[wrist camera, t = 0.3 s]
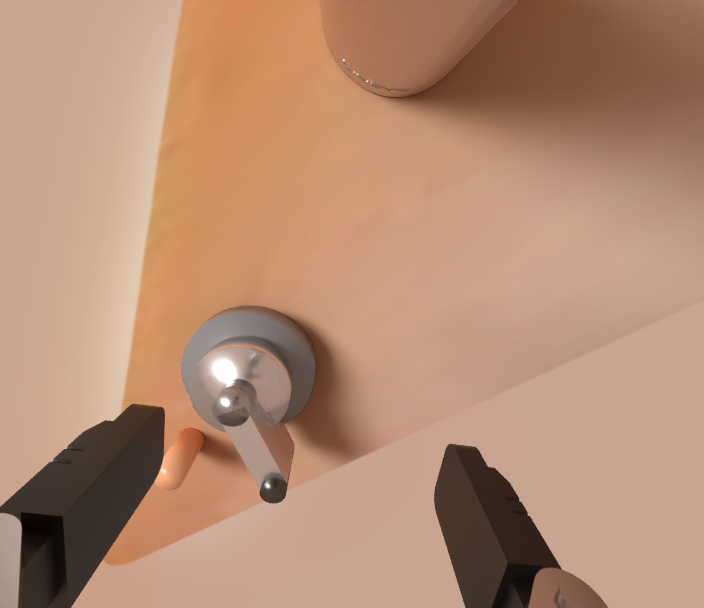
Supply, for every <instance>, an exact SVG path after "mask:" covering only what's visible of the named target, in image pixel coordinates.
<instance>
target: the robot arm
mask: <svg viewBox="0 0 704 608" xmlns="http://www.w3.org/2000/svg"><path fill="white" fill-rule="evenodd" d="M518 1H519V0H320V6H321V13H322V20H323V26H324V30H325V34H326V38H327V42H328V45H329V47H330V49H331V51H332V53H333V56H334V58H335V60H336V61H337V63H338V64H339V65H340V67H341V68H342V70H343V71H344V72H345V74H346V75H348V76H349V77H350V78H351V79H352V80H353V81H354V82H355V83H356V84H357V85H359V86H361V87H363V88H364V89H366V90H368V91H370V92H372V93H375V94H379V95H382V96H386V97H404V96H409V95H414V94H417V93H419V92H422V91H424V90H426V89H428V88H430V87H432V86H433V85H434V84H436V83H437V82H438V81H440V80H441V79H442V78H444V77H445V76H446V75H447V74H448V73H449V72H450V71H451V69H452V68H453V67H454V66H455V65H456V64H457V63H458V62H459V61H460V60H461V59H462V58H463V57H464V56H465V55H466V54H467V53H468V52H469V51H470V50H471V49H472V48H473V47H474V46H475V45H476V44H477V43H478V42H479V41H480V40H481V39H482V38H483V37H484V36H485V35H486V34H487V33H488V32H489V31H490V30H491V29H492V28H493V27H494V26H495V25H496V24H497V23H498V22H499V21H500V20H501V19H502V18H503V17H504V16H505V14H506V13H507V12H508V11H509V10H510V9H511V8H512V7H513V6H514V5H515V4H516V3H517V2H518ZM164 425H165V412H164V409H163V408H162V407H156V406H148V405H140V404H132V405H130V406H129V407H128V408H127V409H126V410H125V411H124V412H123V413H122V414H121V415H119V416H118V417H117V418H116V419H115V420H114V421H107V420H106V421H103V422H102V423H100V424H98V425H96V426H94V427H92V428H90V429H88V430H86V431H84V432H83V433H82V434H81V435H79V436H78V438H76V439H75V440H74V441H73V442H72V443H71V444H69V445H68V447H67V449H64V450H63V451H62V452H61V453H59V455H57V456H56V457H55V458H54V460H53V462H49V464H47V465H46V466H45V467H44V468H43V469H42V470H41V471H40V472H38V473H37V474H36V475H35V476H34V477H33V478H32V479H31V480H30V481H28V482H27V483H26V484H25V485H24V486H23V487H22V488H21V489H20V490H18V491H17V492H16V493H15V494H14V495H13V496H12V497H11V498H10V499H8V500H7V501H6V502H5V503H4V504H3V505H2V506H1V507H0V608H71V607H72V605H73V604H74V602H75V601H76V599H77V598H78V596H79V595H80V593H81V592H82V590H83V589H84V587H85V585H86V584H87V582H88V581H89V579H90V578H91V576H92V575H93V573H94V572H95V570H96V569H97V567H98V566H99V564H100V563H101V561H102V560H103V558H104V557H105V555H106V554H107V552H108V551H109V549H110V548H111V546H112V545H113V543H114V542H115V540H116V539H117V537H118V536H119V534H120V533H121V531H122V530H123V528H124V527H125V525H126V524H127V522H128V521H129V519H130V518H131V516H132V514H133V513H134V511H135V510H136V508H137V507H138V505H139V504H140V502H141V501H142V499H143V498H144V496H145V495H146V493H147V492H148V490H149V489H150V487H151V486H152V484H153V483H154V481H155V480H156V478H157V476H158V474H159V471H160V469H161V465H162V462H163V456H164ZM434 502H435V510H436V514H437V517H438V520H439V523H440V527H441V530H442V533H443V536H444V539H445V543H446V546H447V549H448V552H449V556H450V559H451V562H452V565H453V569H454V572H455V575H456V578H457V582H458V585H459V588H460V591H461V595H462V598H463V601H464V604H465V607H466V608H608V607H607V605H606V604H605V603H604V601H603V600H602V599H601V597H600V596H598V594H597V593H596V592H595V591H594V590H593V589H592V588H591V587H590V586H589V585H587V584H586V583H585V582H583V581H582V580H581V579H579V578H578V577H576V576H574V575H573V574H571V573H569V572H566V571H564V570H562V569H561V567H560V566H559V564H558V562H557V561H556V559H555V557H554V556H553V554H552V552H551V551H550V549H549V547H548V546H547V544H546V542H545V541H544V539H543V538H542V536H541V534H540V532H539V531H538V529H537V527H536V526H535V524H534V523H533V521H532V519H531V517H530V516H528V515H527V511H526V509H525V507H524V506H523V504H522V502H519V498H518V496H517V494H516V492H515V491H514V489H513V487H512V486H511V484H510V483H509V482H508V481H507V480H506V479H505V478H504V477H503V476H502V475H501V474H500V473H499V472H498V471H497V470H496V469H495V468H490V467H488V466H487V465H486V463H485V461H484V459H483V457H482V455H481V454H480V452H479V450H478V449H477V448H476V447H472V446H463V445H455V444H449V445H448V446H447V448H446V450H445V454H444V458H443V461H442V465H441V468H440V472H439V476H438V479H437V483H436V487H435V494H434Z"/></svg>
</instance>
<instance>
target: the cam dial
mask: <svg viewBox="0 0 704 608" xmlns="http://www.w3.org/2000/svg"><path fill="white" fill-rule="evenodd" d="M293 382H294V379H293V372H292V369H291V366H290V364H289V362H288V360H287V359H286V357H285V356H284V355H283V354H282V353H281V352H280V351H279V350H278V349H277V348H276V347H274V346H273V345H271V344H270V343H268V342H266V341H263V340H261V339H258V338H253V337H245V336H241V337H232V338H228V339H225V340H223V341H220V342H219V343H217V344H215V345H214V346H213V347H212V348H211V349H210V350H209V351H208V352H207V353H206V354H205V356H204V357H203V358H202V359H201V361H200V362H199V363H198V364H197V366H196V367H195V369H194V370H193V372H192V374H191V377H190V380H189V396H190V400H191V403H192V405H193V407H194V409H195V410H196V412H197V413H198V414H199V416H200V417H201V418H202V419H203V420H204V421H205V422H207V423H208V424H209V425H211V426H212V427H214V428H216V429H218V430H220V431H223V432H226V433H227V434H228V436H229V437H230V439H231V441H232V443H233V444H234V446H235V448H236V449H237V451H238V453H239V455H240V456H241V458H242V460H243V461H244V463H245V465H246V467H247V468H248V470H249V472H250V473H251V475H252V477H253V478H254V480H255V482H256V484H257V485H258V487H259V489H260V496H261V498H262V499H263V500H264V501H266V502H268V503H279V502H281V501H282V500H283V499H284V498H285V496H286V491H287V486H288V480H289V475H290V470H291V464H292V459H293V454H294V445H295V444H294V442H293V440H292V438H291V436H290V434H289V432H288V430H287V428H286V426H285V424H284V422H283V420H282V417H283V416H284V414H285V413H286V411H287V408H288V405H289V401H290V397H291V393H292V389H293Z"/></svg>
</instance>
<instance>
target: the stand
mask: <svg viewBox="0 0 704 608" xmlns="http://www.w3.org/2000/svg"><path fill="white" fill-rule="evenodd" d="M241 336H245V337H253V338H258V339H261V340H263V341H266V342H268V343H270V344H271V345H273V346H274V347H276V348H277V349H278V350H279V351H280V352H281V353H282V354H283V355H284V356H285V357H286V359H287V360H288V362H289V364H290V366H291V369H292V372H293V379H294V382H293V389H292V393H291V397H290V401H289V405H288V408H287V411H286V413H285V414H284V416H283V417H282V420H283V422H284V423H286V422H288V421H289V420H291V419H292V418H294V417H295V416H296V415H297V414H298V413H299V412H300V411H301V410H302V409H303V408H304V406H305V405H306V403H307V402H308V400H309V398H310V396H311V393H312V389H313V384H314V377H315V370H316V359H315V353H314V350H313V347H312V344H311V342H310V340H309V338H308V337H307V335H306V334H305V332H304V331H303V330H302V329H301V328H300V327H299V326H298V325H297V324H296V323H295V322H294V321H293V320H291V319H290V318H288V317H287V316H285V315H283V314H281V313H280V312H277V311H275V310H272V309H268V308H265V307H259V306H239V307H234V308H230V309H227V310H225V311H222V312H220V313H218V314H217V315H215V316H213V317H212V318H211V319H209V320H208V321H207V322H206V323H205V324H204V325H203V326H202V327H201V328H200V329H199V331H198V332H197V333H196V334H195V335H194V336H193V337H192V338H191V340H190V341H189V342H188V344H187V346H186V348H185V351H184V354H183V358H182V378H183V382H184V386H185V388H186V390H187V392H188V394H189V380H190V377H191V374H192V372H193V370H194V369H195V367H196V366H197V364H198V363H199V362H200V361H201V359H202V358H203V357H204V356H205V354H206V353H207V352H208V351H209V350H210V349H211V348H212V347H213V346H214V345H215V344H217V343H219V342H220V341H223V340H225V339H228V338H232V337H241ZM203 443H204V437H203V435H202V433H201V432H199V431H198V430H196V429H191V428H188V429H184V430H183V431H181V432H180V434H179V435H178V437H177V438H176V440H175V441H174V443H173V445H172V446H171V448H170V449H169V451H168V452H167V454H166V455H165V457H164V458H163V462H162V465H161V469H160V471H159V474H158V476H157V478H156V480H155V481H154V483H155V484H156V485H157V486H158V487H160V488H162V489H164V490H175V489H177V488H179V487H180V486H181V484H182V482H183V481H184V479H185V477H186V475H187V473H188V471H189V469H190V468H191V466H192V464H193V462H194V460H195V458H196V456H197V454H198V453H199V451H200V449H201V447H202V445H203Z"/></svg>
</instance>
